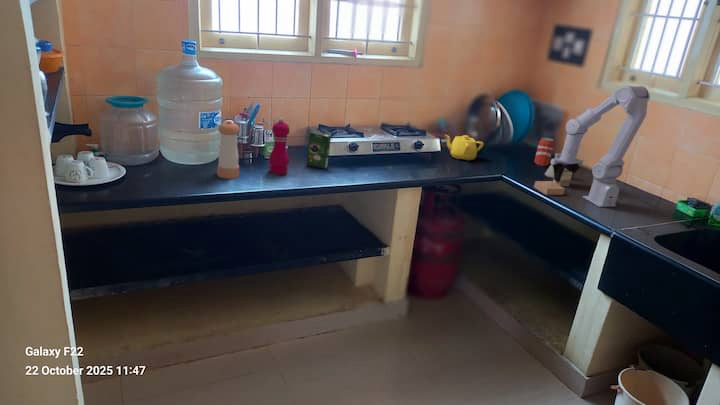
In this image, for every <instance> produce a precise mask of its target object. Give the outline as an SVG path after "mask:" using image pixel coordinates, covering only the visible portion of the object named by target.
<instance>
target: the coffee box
mask: <svg viewBox="0 0 720 405" xmlns="http://www.w3.org/2000/svg"><path fill="white" fill-rule="evenodd" d="M331 138H332V135H331V134H326V133H322V132H318V131H314V130H312V131H310V132H309V136H308V147H307V158H306V165H307V166H310V167H315V168H318V169H319V168H320V169H322V170H323V169H324V170H326V169H327V168H328V164H329V154H330V145H331Z"/></svg>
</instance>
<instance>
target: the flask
mask: <svg viewBox="0 0 720 405" xmlns="http://www.w3.org/2000/svg"><path fill="white" fill-rule="evenodd" d="M561 154H562V153H559V152H555V153H554V158H553V159H555V158H559V157H560V156H561ZM544 175H545V176H546V177H547V178H551V179H554V169H553V165H552V164H551V163H550V164H549V166H548V168H547V170H546V172H544Z"/></svg>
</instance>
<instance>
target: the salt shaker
mask: <svg viewBox="0 0 720 405" xmlns="http://www.w3.org/2000/svg"><path fill="white" fill-rule="evenodd" d="M217 130H218V132H219V133H220V139H219V140H220V145H219V151H218V163H217V172H216V173H217V177H219V178H221V179H227V180H230V179H236V178H238V177H240V165H239V149H238V134H239V133H240V131H241V129H240V126H239V125H238V124H236V123H234V122H232V121H231V120H228V121H225V122H223V123H220V124H219V126H218V129H217Z"/></svg>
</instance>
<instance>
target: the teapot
mask: <svg viewBox="0 0 720 405" xmlns="http://www.w3.org/2000/svg"><path fill="white" fill-rule="evenodd" d="M444 136H445V138H446V146H447V149H448V150H449V153H450V155H451V157H452V158H454V159H455V160H460V159H461V160H465V161H468V162H469V161H470V162H471V161H474V160H475V159H476V157H477V153H478V151H480V150H481V149H482V148H483V147H484V145H485V144H484V142H483V141H476V140H475V139H474V138H473V137H470V136H469V135H466V134H465V135H461V136H459V135H457V136H456V135H455V137H454V139H453V140H452V142H451V137H450V136H449V135H447V134H444ZM477 144H479V145H478V147H477Z"/></svg>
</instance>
